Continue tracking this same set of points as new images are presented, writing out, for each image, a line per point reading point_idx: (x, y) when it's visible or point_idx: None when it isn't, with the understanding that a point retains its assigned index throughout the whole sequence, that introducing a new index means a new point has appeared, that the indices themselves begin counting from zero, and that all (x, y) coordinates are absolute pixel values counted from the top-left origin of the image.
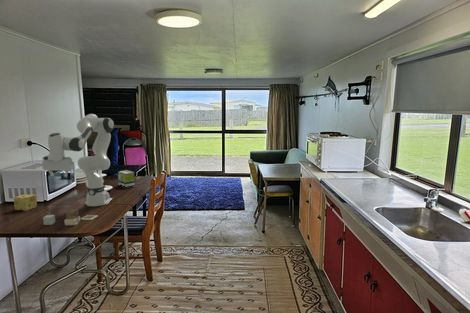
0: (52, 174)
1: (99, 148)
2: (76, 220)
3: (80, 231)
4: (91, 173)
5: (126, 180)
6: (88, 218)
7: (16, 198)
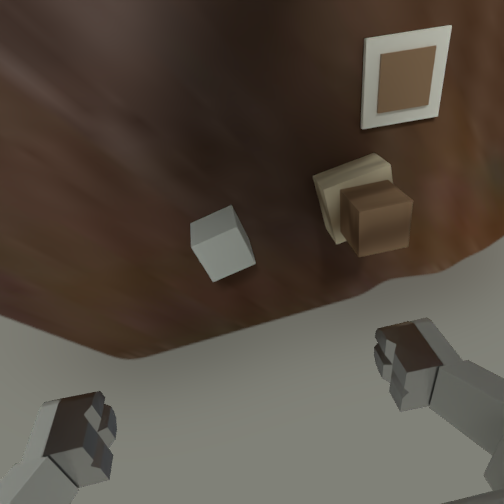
0: (108, 474)
1: None
2: None
3: (444, 260)
4: None
5: None
6: (411, 109)
7: None
